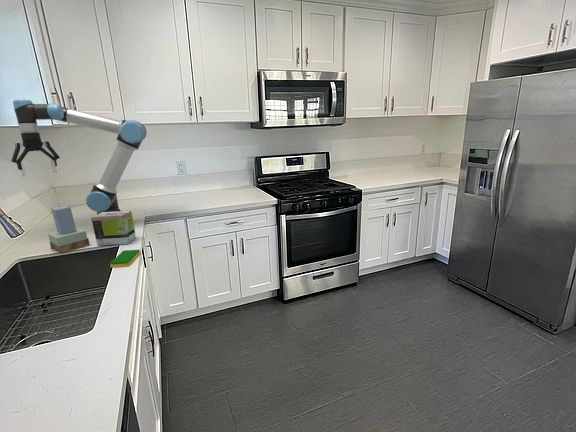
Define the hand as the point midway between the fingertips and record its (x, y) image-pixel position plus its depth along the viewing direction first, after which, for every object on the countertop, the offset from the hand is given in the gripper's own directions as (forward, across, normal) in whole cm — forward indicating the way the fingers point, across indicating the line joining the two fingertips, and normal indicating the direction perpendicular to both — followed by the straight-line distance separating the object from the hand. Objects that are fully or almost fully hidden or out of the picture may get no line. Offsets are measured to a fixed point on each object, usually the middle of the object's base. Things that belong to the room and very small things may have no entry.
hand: (40, 174), depth 165 cm
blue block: (+25, +5, +31) cm, 40 cm away
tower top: (+29, +5, +31) cm, 43 cm away
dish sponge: (+33, +1, +72) cm, 79 cm away
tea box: (+33, -10, +45) cm, 57 cm away
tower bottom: (+33, +5, +31) cm, 46 cm away
